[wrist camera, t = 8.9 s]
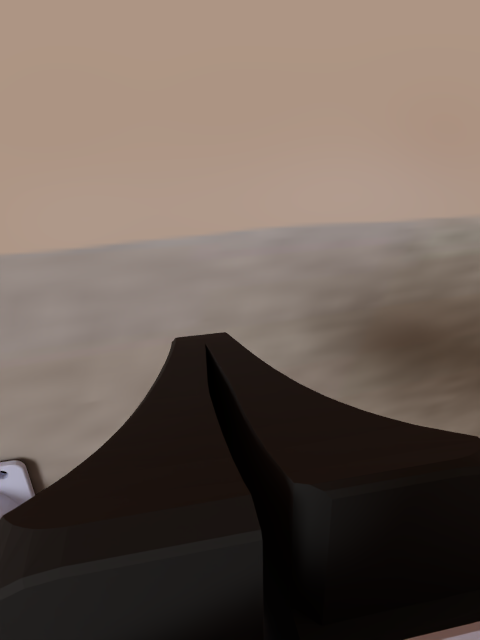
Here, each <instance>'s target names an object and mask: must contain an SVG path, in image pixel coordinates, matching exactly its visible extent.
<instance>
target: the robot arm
mask: <svg viewBox="0 0 480 640" xmlns="http://www.w3.org/2000/svg"><path fill="white" fill-rule="evenodd" d="M0 471H5V472H7V473H1V472H0V640H480V438H478V437H477V436H471V435H466V434H460V433H455V432H450V431H444V430H439V429H433V428H428V427H422V426H418V425H413V424H409V423H406V422H402V421H398V420H394V419H390V418H386V417H383V416H379V415H376V414H373V413H370V412H366V411H363V410H360V409H358V408H355V407H352V406H349V405H347V404H344V403H341V402H338V401H336V400H333V399H331V398H329V397H326V396H324V395H322V394H320V393H318V392H316V391H313V390H311V389H309V388H307V387H305V386H303V385H301V384H299V383H297V382H296V381H294V380H292V379H290V378H289V377H287V376H285V375H284V374H282V373H280V372H279V371H277V370H275V369H274V368H272V367H271V366H269V365H268V364H266V363H265V362H264V361H262V360H261V359H259V358H258V357H257V356H255V355H254V354H252V353H251V352H250V351H249V350H247V349H246V348H245V347H243V346H242V345H241V344H240V343H238V342H237V341H236V340H235V339H234V338H232V337H231V336H230V335H229V334H227V333H226V332H223V333H214V334H205V335H196V336H187V337H178V338H175V339H174V341H173V342H172V345H171V349H170V352H169V355H168V357H167V359H166V362H165V364H164V366H163V368H162V370H161V372H160V374H159V375H158V377H157V379H156V381H155V383H154V384H153V386H152V387H151V389H150V390H149V392H148V393H147V395H146V397H145V398H144V400H143V401H142V402H141V404H140V405H139V406H138V408H137V409H136V410H135V412H134V413H133V414H132V415H131V416H130V418H129V419H128V420H127V421H126V422H125V424H124V425H123V426H122V427H121V428H120V429H119V430H118V431H117V432H116V433H115V434H114V435H113V436H112V437H111V438H110V439H109V440H108V441H107V442H106V443H105V444H104V445H103V446H102V447H101V448H99V449H98V450H97V451H96V452H95V453H93V454H92V455H91V456H90V457H89V458H87V459H86V460H85V461H84V462H82V463H81V464H80V465H79V466H77V467H76V468H75V469H73V470H72V471H71V472H69V473H68V474H67V475H65V476H64V477H62V478H61V479H60V480H58V481H57V482H55V483H54V484H52V485H51V486H49V487H48V488H46V489H45V490H43V491H41V492H40V493H38V494H37V495H35V493H34V490H33V487H32V484H31V481H30V478H29V475H28V471H27V468H26V466H25V464H24V463H22V462H21V461H17V460H12V461H6V462H0Z"/></svg>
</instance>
